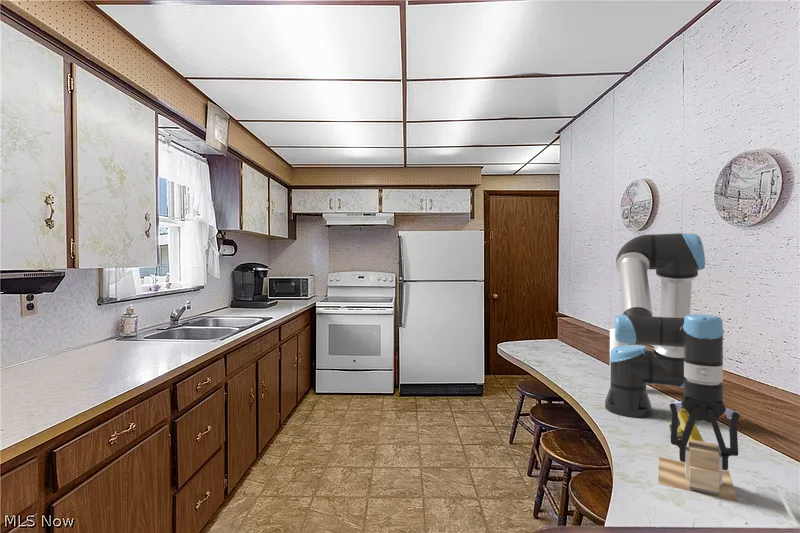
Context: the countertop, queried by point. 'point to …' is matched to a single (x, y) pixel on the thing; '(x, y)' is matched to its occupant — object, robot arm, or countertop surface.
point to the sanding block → (703, 466)
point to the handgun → (682, 423)
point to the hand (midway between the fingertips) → (703, 478)
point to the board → (675, 477)
